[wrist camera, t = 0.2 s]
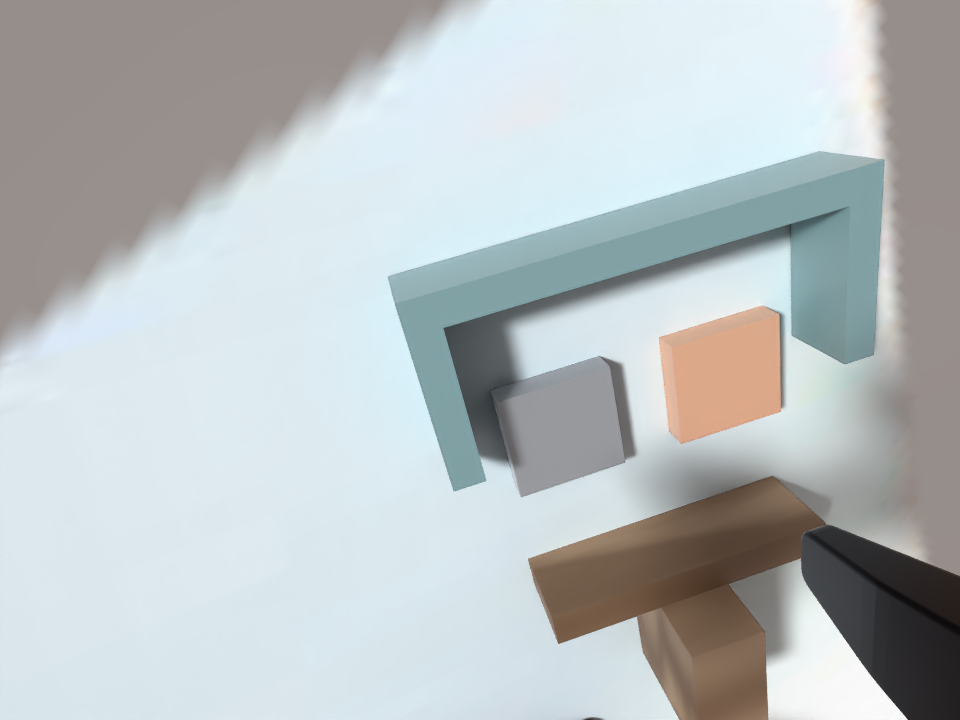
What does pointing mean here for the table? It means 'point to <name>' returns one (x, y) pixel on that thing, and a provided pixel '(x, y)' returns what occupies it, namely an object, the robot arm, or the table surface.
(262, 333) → the table surface
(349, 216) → the table surface
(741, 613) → the scraper
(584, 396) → the tile slate
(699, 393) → the tile terracotta
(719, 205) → the teal corner frame
